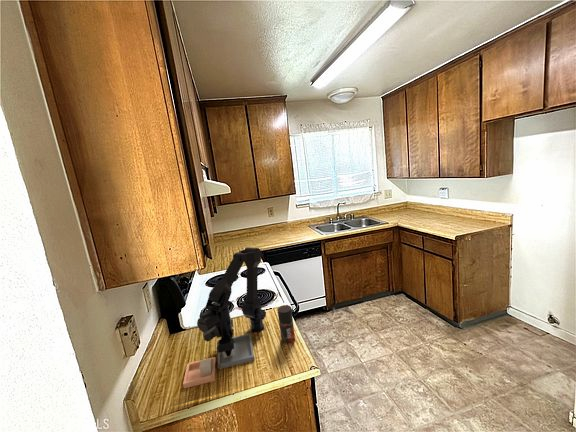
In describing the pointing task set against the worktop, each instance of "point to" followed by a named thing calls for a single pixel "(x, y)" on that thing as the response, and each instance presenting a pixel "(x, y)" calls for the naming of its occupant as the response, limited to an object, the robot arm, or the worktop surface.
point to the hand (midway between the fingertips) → (228, 352)
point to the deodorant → (286, 324)
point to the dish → (197, 374)
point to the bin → (238, 352)
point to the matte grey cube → (206, 367)
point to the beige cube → (230, 354)
